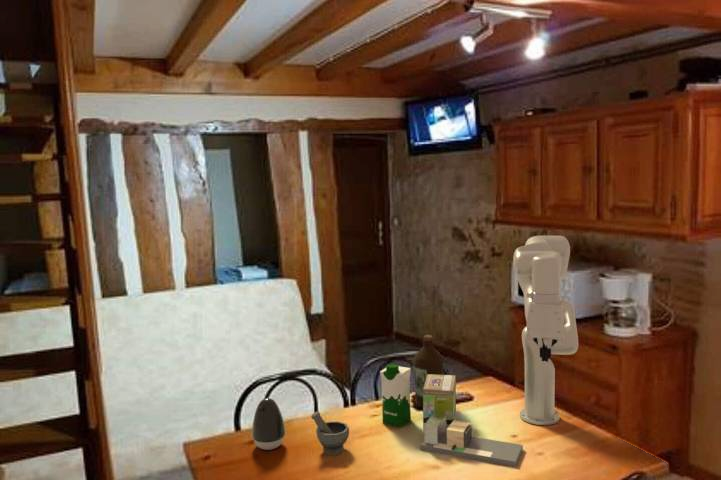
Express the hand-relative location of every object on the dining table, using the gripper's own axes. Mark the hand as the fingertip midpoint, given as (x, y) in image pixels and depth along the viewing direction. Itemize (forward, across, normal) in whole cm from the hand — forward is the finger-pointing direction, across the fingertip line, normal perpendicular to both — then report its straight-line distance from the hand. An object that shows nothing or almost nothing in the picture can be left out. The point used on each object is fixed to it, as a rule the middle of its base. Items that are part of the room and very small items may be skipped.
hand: (545, 360), depth 172 cm
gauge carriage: (+25, -23, -10) cm, 36 cm away
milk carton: (+27, -48, +2) cm, 55 cm away
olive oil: (+27, -43, +20) cm, 55 cm away
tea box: (+27, -34, +5) cm, 44 cm away
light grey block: (+26, -31, -9) cm, 41 cm away
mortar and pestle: (+27, -59, -24) cm, 69 cm away
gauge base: (+27, -20, -8) cm, 35 cm away
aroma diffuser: (+27, -78, -29) cm, 88 cm away
